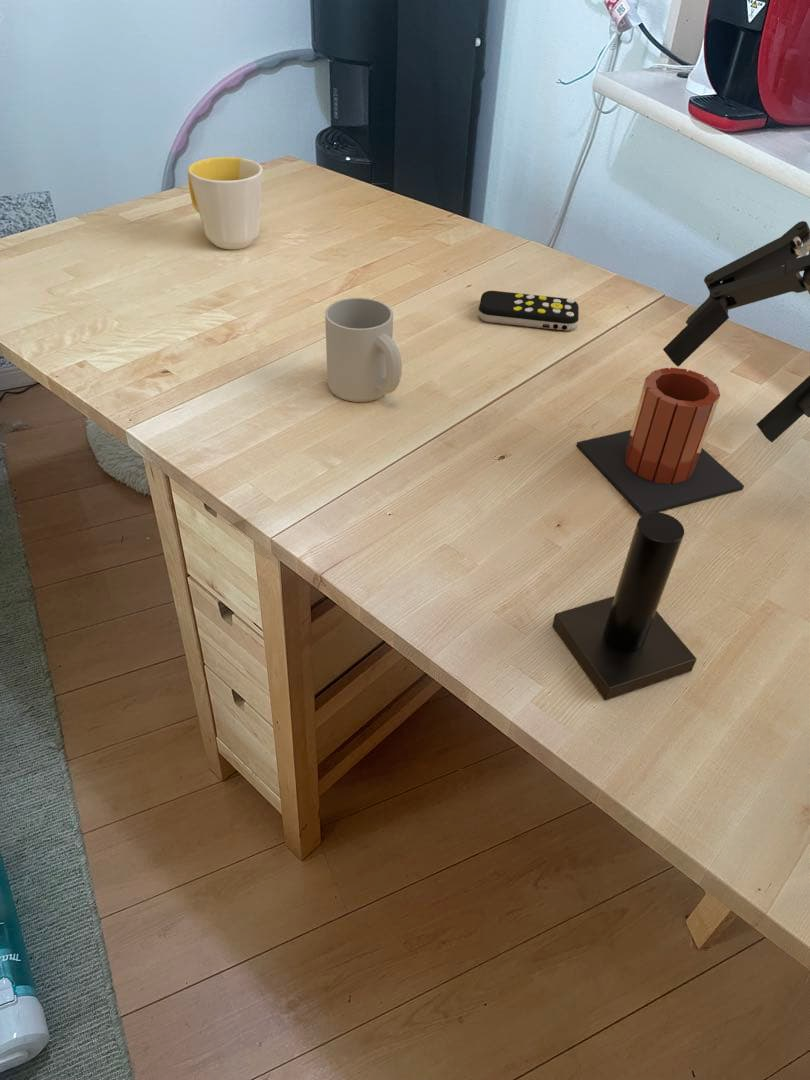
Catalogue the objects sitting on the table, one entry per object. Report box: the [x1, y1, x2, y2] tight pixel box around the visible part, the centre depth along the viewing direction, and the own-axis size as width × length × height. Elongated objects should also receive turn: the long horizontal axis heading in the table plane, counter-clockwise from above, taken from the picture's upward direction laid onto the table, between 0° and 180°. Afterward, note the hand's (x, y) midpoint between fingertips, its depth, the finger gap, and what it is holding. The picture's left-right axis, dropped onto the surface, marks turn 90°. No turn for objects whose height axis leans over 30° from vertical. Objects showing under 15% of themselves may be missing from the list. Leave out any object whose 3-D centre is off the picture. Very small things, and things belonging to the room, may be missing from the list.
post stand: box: [552, 512, 698, 701], centre depth 60 cm, size 8×8×13 cm
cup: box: [324, 297, 403, 403], centre depth 88 cm, size 7×10×9 cm
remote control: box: [477, 290, 580, 332], centre depth 105 cm, size 6×13×2 cm, turn 81°
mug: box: [187, 156, 264, 250], centre depth 117 cm, size 14×10×10 cm
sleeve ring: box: [625, 367, 721, 484], centre depth 79 cm, size 7×7×9 cm
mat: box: [576, 429, 745, 517], centre depth 83 cm, size 12×12×1 cm
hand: (714, 394), depth 75 cm, fingers open, 13 cm apart
